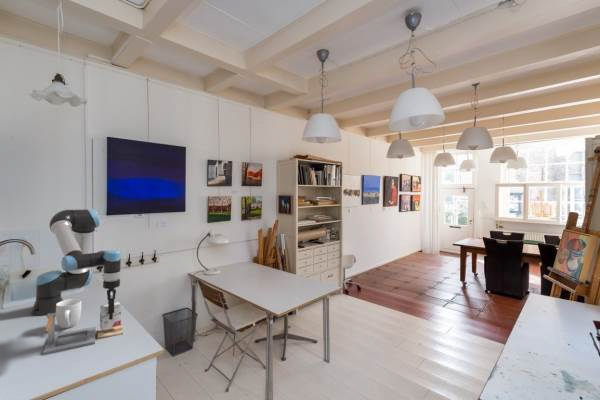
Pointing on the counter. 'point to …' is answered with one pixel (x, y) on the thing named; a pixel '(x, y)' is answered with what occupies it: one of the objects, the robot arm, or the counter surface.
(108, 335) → the pad
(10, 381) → the counter surface
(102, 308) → the ink box
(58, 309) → the mug
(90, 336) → the stand
